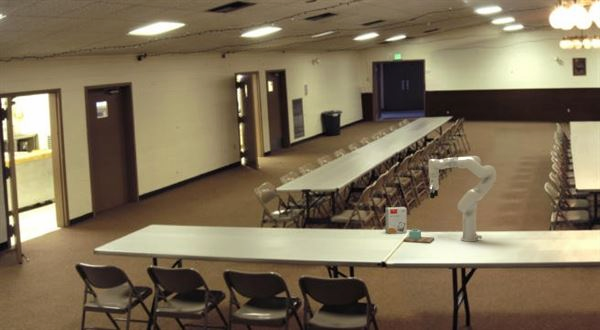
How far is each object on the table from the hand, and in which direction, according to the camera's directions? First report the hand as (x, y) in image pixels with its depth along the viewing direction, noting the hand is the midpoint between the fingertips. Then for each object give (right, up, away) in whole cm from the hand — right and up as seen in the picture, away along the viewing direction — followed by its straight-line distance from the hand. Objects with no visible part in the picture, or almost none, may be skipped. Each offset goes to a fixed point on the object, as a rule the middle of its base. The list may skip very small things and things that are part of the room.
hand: (434, 197), depth 547 cm
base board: (-13, -32, -10) cm, 36 cm away
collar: (-16, -31, -9) cm, 36 cm away
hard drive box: (-26, -29, +21) cm, 44 cm away
